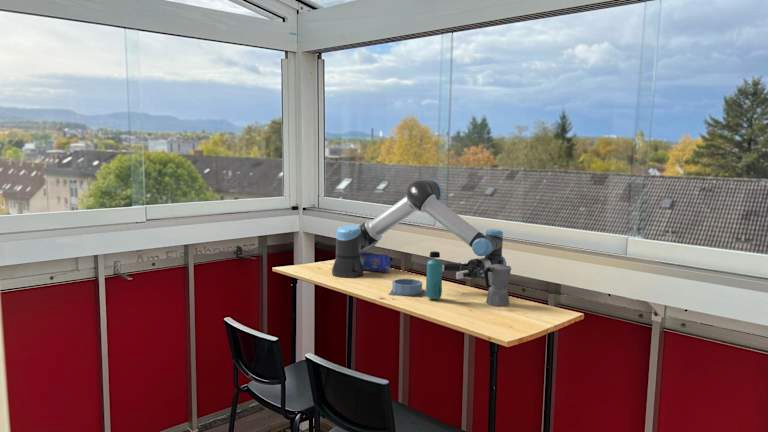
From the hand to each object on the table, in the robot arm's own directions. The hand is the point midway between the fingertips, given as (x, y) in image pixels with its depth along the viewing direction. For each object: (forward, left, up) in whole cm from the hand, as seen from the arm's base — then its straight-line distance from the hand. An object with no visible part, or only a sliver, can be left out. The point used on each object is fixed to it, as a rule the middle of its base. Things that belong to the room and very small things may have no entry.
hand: (444, 272), depth 235 cm
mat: (-16, +5, -11) cm, 20 cm away
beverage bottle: (-4, -4, -11) cm, 12 cm away
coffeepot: (+21, -3, -11) cm, 24 cm away
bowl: (-16, +5, -11) cm, 20 cm away
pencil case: (-41, +46, -11) cm, 62 cm away
